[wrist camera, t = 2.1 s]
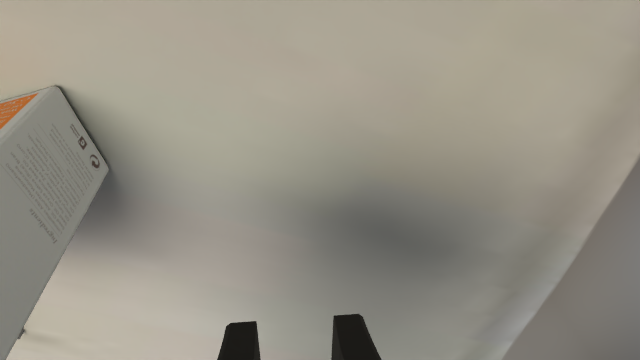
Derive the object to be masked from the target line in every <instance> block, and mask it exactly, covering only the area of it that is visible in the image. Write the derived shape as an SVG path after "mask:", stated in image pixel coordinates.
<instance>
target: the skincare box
mask: <svg viewBox="0 0 640 360" xmlns="http://www.w3.org/2000/svg"><path fill="white" fill-rule="evenodd" d="M108 171H109V169H108V166H107V164H106V163H105V161H104V159H103V158H102V156H101V155H100V153H99V151H98V150H97V148H96V147H95V145H94V143H93V142H92V140H91V139H90V137H89V136H88V134H87V132H86V131H85V129H84V128H83V126H82V124H81V123H80V121H79V120H78V118H77V116H76V115H75V113H74V111H73V110H72V108H71V107H70V105H69V103H68V102H67V100H66V98H65V97H64V95H63V94H62V92H61V90H60V89H59V88H58V87H56V86H52V87H48V88H46V89H43V90H40V91H36V92H33V93H29V94H26V95H22V96H18V97H14V98H11V99H7V100H4V101H0V360H6V358H7V356H8V354H9V353H10V351H11V349H12V347H13V345H14V344H15V342H16V340H17V338H18V336H19V334H20V332H21V330H22V329H23V327H24V325H25V323H26V321H27V320H28V318H29V316H30V314H31V312H32V310H33V309H34V307H35V305H36V303H37V301H38V300H39V298H40V296H41V294H42V292H43V290H44V288H45V286H46V285H47V283H48V281H49V279H50V278H51V276H52V274H53V272H54V270H55V268H56V267H57V265H58V263H59V261H60V259H61V257H62V255H63V254H64V252H65V250H66V248H67V246H68V244H69V242H70V241H71V239H72V237H73V235H74V233H75V231H76V230H77V228H78V226H79V224H80V222H81V221H82V219H83V217H84V215H85V214H86V212H87V210H88V208H89V206H90V204H91V202H92V201H93V199H94V197H95V195H96V193H97V191H98V190H99V188H100V186H101V184H102V182H103V180H104V178H105V177H106V175H107V173H108Z"/></svg>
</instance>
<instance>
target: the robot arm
mask: <svg viewBox="0 0 640 360" xmlns="http://www.w3.org/2000/svg"><path fill="white" fill-rule="evenodd" d="M217 360H260V351H259V342H258V332H257V323H256V321H253V322H239V323H230V324H229V325H227V326H226V330H225V334H224V339H223V342H222V346H221V349H220V353H219V356H218V359H217ZM332 360H381V358H380V356H379V354H378V352H377V350H376V347H375V345H374V343H373V341H372V339H371V336H370V334H369V332H368V329H367V327H366V324H365V322H364V319H363V317H362V316H361V315H359V314H351V315H337V316H334V320H333V340H332Z"/></svg>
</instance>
